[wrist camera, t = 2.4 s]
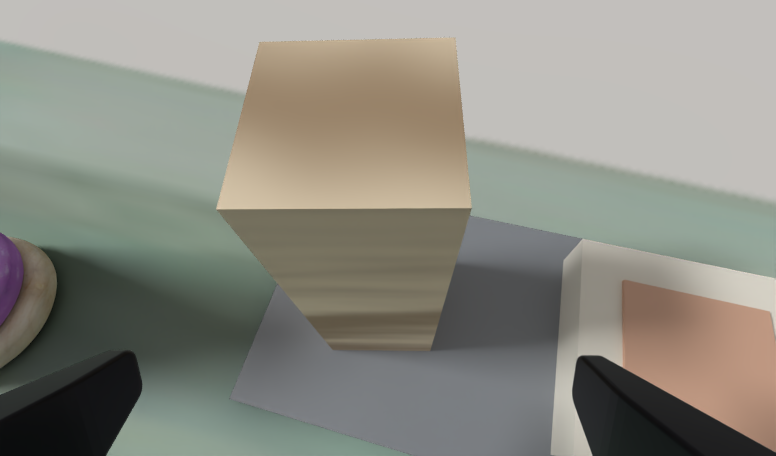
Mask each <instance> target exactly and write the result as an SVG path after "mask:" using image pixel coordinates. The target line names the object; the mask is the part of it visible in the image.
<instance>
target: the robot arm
mask: <svg viewBox="0 0 776 456" xmlns="http://www.w3.org/2000/svg"><path fill="white" fill-rule="evenodd" d="M141 391H142V379H141V375H140V371H139V367H138V362H137V358H136V355H135V353H134V352H133V351H131V350H109V351H106V352H104V353H102V354H99V355H97V356H94V357H92V358H89V359H87V360H84V361H82V362H79V363H77V364H75V365H72V366H70V367H67V368H65V369H62V370H60V371H57V372H55V373H53V374H50V375H48V376H45V377H43V378H40V379H38V380H35V381H33V382H31V383H28V384H26V385H23V386H21V387H18V388H16V389H13V390H11V391H9V392H6V393H4V394H1V395H0V456H106V455H107V453H108V451H109V449H110V448H111V446H112V444H113V442H114V441H115V439H116V437H117V435H118V434H119V432H120V430H121V428H122V427H123V425H124V423H125V421H126V420H127V418H128V416H129V414H130V413H131V411H132V409H133V407H134V405H135V404H136V402H137V400H138V398H139V397H140V394H141ZM572 398H573V403H574V406H575V408H576V411H577V414H578V417H579V420H580V422H581V425H582V428H583V431H584V433H585V436H586V439H587V442H588V445H589V447H590V450H591V453H592V456H776V452H774V451H772V450H771V449H769V448H767V447H765V446H763V445H762V444H760V443H758V442H756V441H754V440H753V439H751V438H749V437H747V436H745V435H744V434H742V433H740V432H738V431H736V430H735V429H733V428H731V427H729V426H727V425H726V424H724V423H722V422H720V421H718V420H716V419H715V418H713V417H711V416H709V415H707V414H706V413H704V412H702V411H700V410H698V409H697V408H695V407H693V406H691V405H689V404H688V403H686V402H684V401H682V400H680V399H679V398H677V397H675V396H673V395H671V394H670V393H668V392H666V391H664V390H662V389H660V388H659V387H657V386H655V385H653V384H651V383H650V382H648V381H646V380H644V379H642V378H641V377H639V376H637V375H635V374H633V373H632V372H630V371H628V370H626V369H624V368H623V367H621V366H619V365H617V364H615V363H614V362H612V361H610V360H608V359H606V358H605V357H603V356H599V355H581V356H579V357H578V359H577V361H576V366H575V373H574V380H573V387H572Z"/></svg>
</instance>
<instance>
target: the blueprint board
mask: <svg viewBox="0 0 776 456" xmlns="http://www.w3.org/2000/svg"><path fill="white" fill-rule="evenodd" d="M581 355H599V356H603V357H605V358H606V359H608V360H610V361H612V362H614V363H615V364H617V365H619V366H621V367H623V368H624V369H626V370H628V371H630V372H632V373H633V374H635V375H637V376H639V377H641V378H642V379H644V380H646V381H648V382H650V383H651V384H653V385H655V386H657V387H659V388H660V389H662V390H664V391H666V392H668V393H670V394H671V395H673V396H675V397H677V398H679V399H680V400H682V401H684V402H686V403H688V404H689V405H691V406H693V407H695V408H697V409H698V410H700V411H702V412H704V413H706V414H707V415H709V416H711V417H713V418H715V419H716V420H718V421H720V422H722V423H724V424H726V425H727V426H729V427H731V428H733V429H735V430H736V431H738V432H740V433H742V434H744V435H745V436H747V437H749V438H751V439H753V440H754V441H756V442H758V443H760V444H762V445H763V446H765V447H767V448H769V449H771V450H772V451H774V452H776V279H775V278H770V277H765V276H761V275H756V274H751V273H746V272H741V271H736V270H732V269H727V268H722V267H717V266H712V265H707V264H702V263H698V262H693V261H688V260H683V259H678V258H673V257H669V256H664V255H659V254H654V253H649V252H644V251H640V250H635V249H630V248H625V247H620V246H615V245H610V244H606V243H601V242H596V241H591V240H586V239H581V238H576V237H571V236H566V235H562V234H557V233H552V232H547V231H542V230H537V229H533V228H528V227H523V226H518V225H513V224H508V223H503V222H499V221H494V220H489V219H484V218H479V217H474V216H469V219H468V223H467V226H466V229H465V233H464V236H463V240H462V243H461V247H460V250H459V254H458V257H457V260H456V264H455V267H454V271H453V274H452V278H451V281H450V285H449V288H448V291H447V295H446V298H445V302H444V305H443V309H442V312H441V316H440V319H439V323H438V326H437V329H436V333H435V336H434V340H433V343H432V347H431V350H430V351H383V350H332V349H331V347H330V346H329V345H328V344H327V343H326V341H325V340H324V339H323V338H322V336H321V335H320V334H319V333H318V332H317V330H316V329H315V328H314V327H313V326H312V324H311V323H310V322H309V321H308V320H307V318H306V317H305V316H304V315H303V314H302V312H301V311H300V310H299V309H298V307H297V306H296V305H295V304H294V303H293V301H292V300H291V299H290V298H289V297H288V295H287V294H286V293H285V292H284V291H283V289H282V288H281V287H280V286H279V285H278V283H277V285H276V288H275V290H274V293H273V295H272V297H271V300H270V302H269V305H268V307H267V309H266V312H265V314H264V317H263V319H262V321H261V324H260V326H259V329H258V331H257V333H256V336H255V338H254V340H253V343H252V345H251V348H250V350H249V352H248V355H247V357H246V360H245V362H244V364H243V367H242V369H241V372H240V374H239V376H238V379H237V381H236V384H235V386H234V388H233V391H232V393H231V396H230V398H229V399H231V400H235V401H238V402H241V403H244V404H248V405H251V406H254V407H257V408H261V409H264V410H267V411H270V412H274V413H277V414H280V415H283V416H287V417H290V418H293V419H296V420H300V421H303V422H306V423H309V424H313V425H316V426H319V427H322V428H326V429H329V430H332V431H335V432H339V433H342V434H345V435H348V436H352V437H355V438H358V439H361V440H365V441H368V442H371V443H374V444H378V445H381V446H384V447H387V448H391V449H394V450H397V451H400V452H403V453H407V454H410V455H413V456H592V453H591V450H590V447H589V445H588V442H587V439H586V436H585V433H584V431H583V428H582V425H581V422H580V420H579V417H578V414H577V411H576V408H575V406H574V403H573V398H572V387H573V380H574V373H575V366H576V361H577V359H578V357H579V356H581Z"/></svg>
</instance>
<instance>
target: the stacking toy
mask: <svg viewBox="0 0 776 456" xmlns="http://www.w3.org/2000/svg"><path fill="white" fill-rule="evenodd" d="M56 290H57V276H56V271H55V268H54V266H53V263H52V262H51V260H50V259H49V257H48V256H47V255H46V254H45V253H44V252H43V251H42V250H41V249H40V248H38V247H37V246H35V245H33V244H31V243H29V242H27V241H24V240H21V239H17V238H13V237H6V236H5V235H3V234H2V233H0V368H1V367H3V366H4V365H6V364H7V363H8V362H10V361H11V360H12V359H14V358H15V357H16V356H18V355H19V354H20V353H21V352H22V351H23V350H24V349H25V348H26V347H27V346H28V345H29V344H30V343H31V342H32V340H33V339H34V338H35V337H36V336H37V334H38V333H39V332H40V330H41V328H42V327H43V325H44V324H45V322H46V320H47V318H48V316H49V314H50V312H51V309H52V306H53V303H54V300H55V296H56Z"/></svg>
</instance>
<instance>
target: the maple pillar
mask: <svg viewBox="0 0 776 456" xmlns="http://www.w3.org/2000/svg"><path fill="white" fill-rule="evenodd" d="M471 209H472V206H471V196H470V185H469V175H468V165H467V154H466V144H465V134H464V123H463V113H462V102H461V93H460V82H459V72H458V61H457V50H456V40H455V38H415V39H372V40H331V41H330V40H327V41H284V42H260V43H259V46H258V50H257V54H256V58H255V62H254V66H253V69H252V73H251V77H250V81H249V85H248V89H247V93H246V96H245V100H244V104H243V108H242V112H241V116H240V120H239V124H238V127H237V131H236V135H235V139H234V143H233V147H232V151H231V154H230V158H229V162H228V166H227V170H226V174H225V178H224V182H223V185H222V189H221V193H220V197H219V201H218V205H217V209H216V210H217V211H218V212H219V213H220V214H221V216H222V217H223V218H224V219H225V220H226V222H227V223H228V224H229V225H230V227H231V228H232V229H233V230H234V231H235V233H236V234H237V235H238V236H239V237H240V239H241V240H242V241H243V242H244V243H245V245H246V246H247V247H248V248H249V249H250V251H251V252H252V253H253V254H254V256H255V257H256V258H257V259H258V260H259V262H260V263H261V264H262V265H263V266H264V268H265V269H266V270H267V271H268V272H269V274H270V275H271V276H272V277H273V278H274V280H275V281H276V282H277V283H278V285H279V286H280V287H281V288H282V289H283V291H284V292H285V293H286V294H287V295H288V297H289V298H290V299H291V300H292V301H293V303H294V304H295V305H296V306H297V307H298V309H299V310H300V311H301V312H302V314H303V315H304V316H305V317H306V318H307V320H308V321H309V322H310V323H311V324H312V326H313V327H314V328H315V329H316V330H317V332H318V333H319V334H320V335H321V336H322V338H323V339H324V340H325V341H326V343H327V344H328V345H329V346H330V347H331V349H332V350H383V351H430V350H431V347H432V343H433V340H434V336H435V333H436V329H437V326H438V323H439V319H440V316H441V312H442V309H443V305H444V302H445V298H446V295H447V291H448V288H449V285H450V281H451V278H452V274H453V271H454V267H455V264H456V260H457V257H458V254H459V250H460V247H461V243H462V240H463V236H464V233H465V229H466V226H467V223H468V219H469V216H470V212H471Z"/></svg>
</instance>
